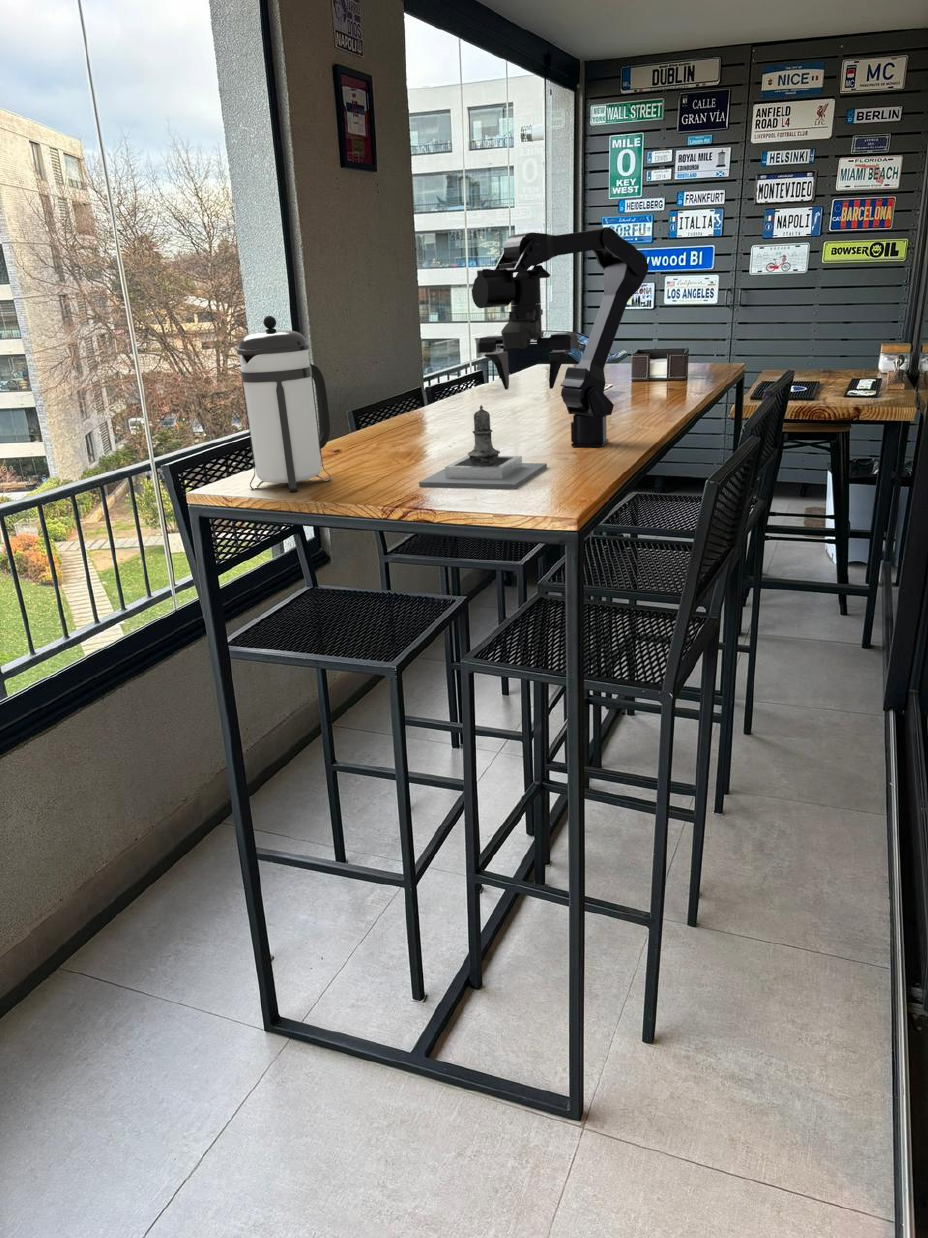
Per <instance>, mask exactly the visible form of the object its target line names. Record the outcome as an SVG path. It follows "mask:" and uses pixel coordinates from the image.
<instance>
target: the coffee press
mask: <svg viewBox="0 0 928 1238" xmlns="http://www.w3.org/2000/svg"><path fill="white" fill-rule="evenodd" d="M277 323H278V321H277V320H276V318H275V317H274V316H272V315H267V316H265V317H264V318H263V321H262V324H263V325H264V327H265V328H266V329H265V331H260V332H253V333H252V332H251V333H249V334H247V335H244V336H243V337H242V338H241V339H240V340H239V343H238V346H237V347H238V348H236V349H235V350H236V355H237V356H238V358H239V362H240V369H241V370H240V372H239V373H240V378H241V386H242V391H243V399H244V407H245V412H246V413H245V414H246V420H247V427H248V428H247V429H248V434H249V439H250V440H249V442H250V450H251V455H252V464H253V469H254V471H253V472H254V473H253V476H252V478H251V480H250V482H249V487H250V489H251V488H252V487H253V486H252V483H253V481H254V479H255V477H256V476H257V478H258V479H259V480H260V482H259V483H258V484H257V486H256V487H257V489H259V487H260V486H261V485H262V484H263V483H269V484H286V483H287V485H288V491H289V493H296V492H298V488H297V482H303V481H306V480H307V481H308V480H311V479H313V478H316V477H318V478H319V479H321V480H322V481H324V482H330V480H331V474H330V473H329V472H328V471H327V470H326V469H325V468H324V464H323V456H322V449H323V448H325V447H326V445H327V444H328V441H329V438H330V433H331V425H330V424H331V423H330V413H329V411H330V410H329V403H328V395H327V388H326V383H325V378H324V376H323V373H322V371H321V370H320V369H319V367H318V366H317V365H314V364H312V363H310V356H309V355H310V354H309V352H310V348H311V347H310V343H308V342H307V339H306V338H305V336H304V335H303V334H301V332H298V331H294V330H277V329H276V328H275V327H276V325H277ZM314 385H315V388H314ZM315 392H316V397H315ZM316 400H317V403H316ZM316 404H317V406H316ZM317 407H318V408H317ZM317 409H318V413H317ZM318 417H319V421H318ZM318 422H319V423H318ZM319 426H320V430H319ZM322 469H323V470H324V472H325V473H326V474H327V475H328V478H327V479H325V478H323V477H322V476H320V475H319V474H320V473H321V471H322Z"/></svg>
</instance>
